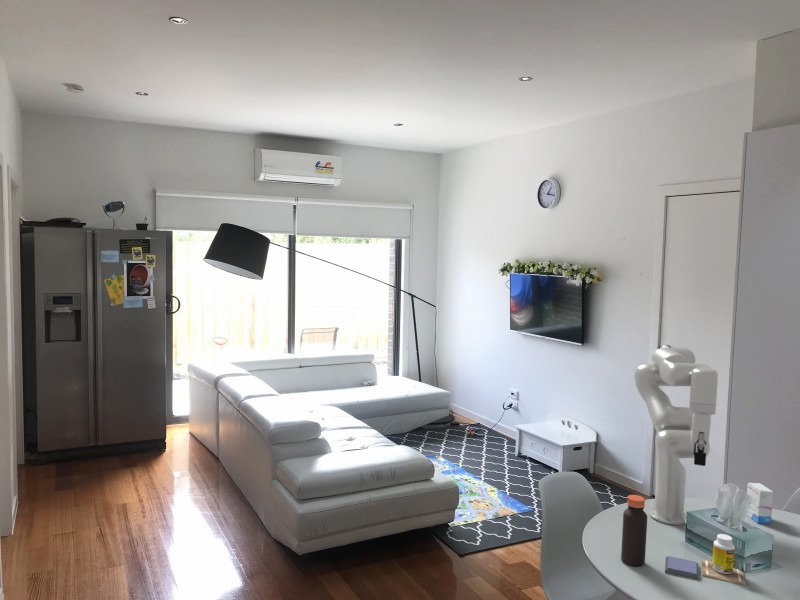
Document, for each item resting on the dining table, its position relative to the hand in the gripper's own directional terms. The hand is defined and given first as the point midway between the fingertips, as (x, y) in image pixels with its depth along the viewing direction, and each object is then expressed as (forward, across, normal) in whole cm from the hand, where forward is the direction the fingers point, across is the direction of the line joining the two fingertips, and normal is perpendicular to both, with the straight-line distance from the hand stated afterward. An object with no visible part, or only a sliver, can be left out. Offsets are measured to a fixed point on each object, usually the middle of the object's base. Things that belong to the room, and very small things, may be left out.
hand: (699, 460), depth 198 cm
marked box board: (+28, +14, +8) cm, 32 cm away
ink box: (+28, -34, +21) cm, 49 cm away
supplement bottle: (+28, +14, +7) cm, 32 cm away
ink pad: (+28, +18, -4) cm, 34 cm away
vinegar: (+28, +20, -17) cm, 39 cm away
